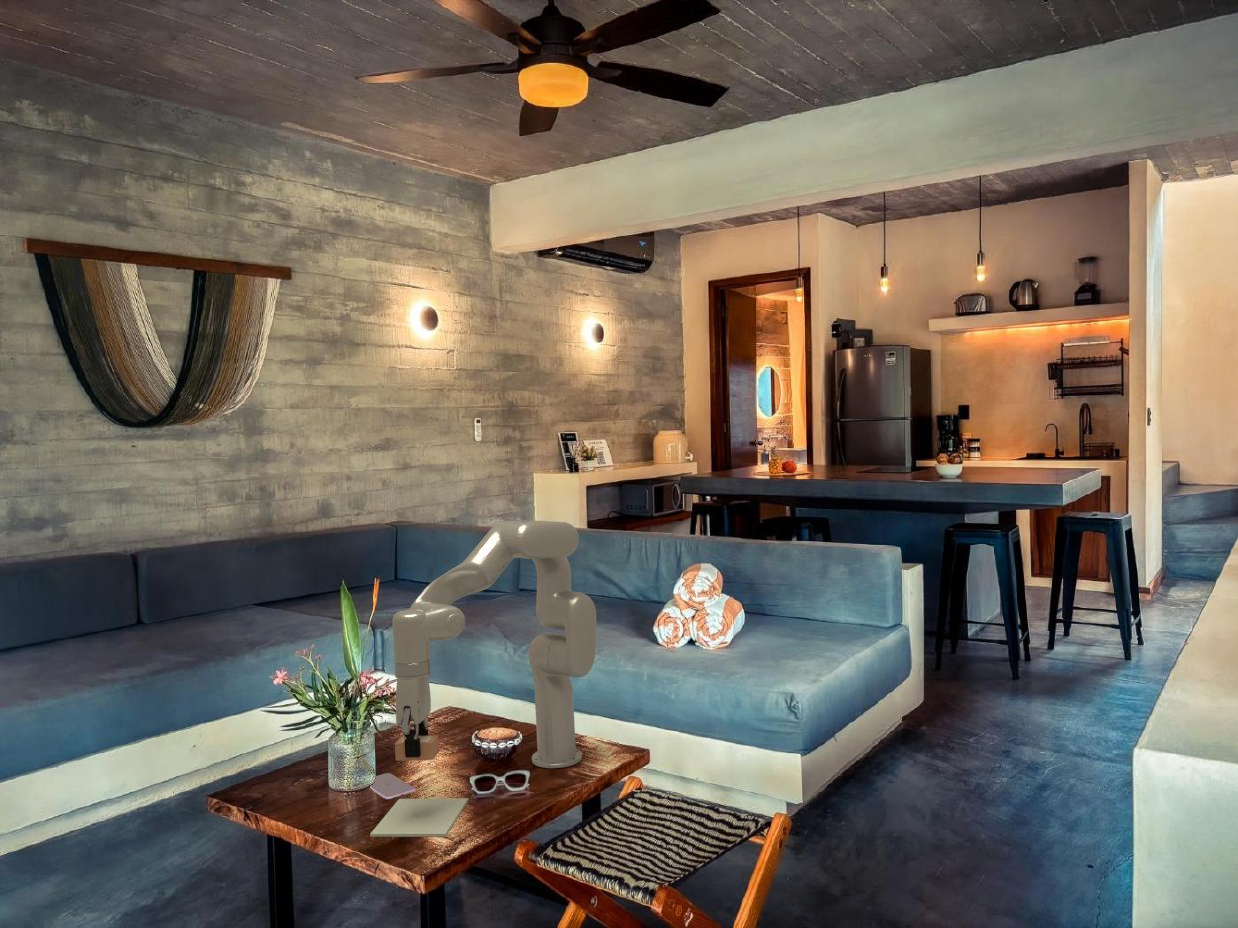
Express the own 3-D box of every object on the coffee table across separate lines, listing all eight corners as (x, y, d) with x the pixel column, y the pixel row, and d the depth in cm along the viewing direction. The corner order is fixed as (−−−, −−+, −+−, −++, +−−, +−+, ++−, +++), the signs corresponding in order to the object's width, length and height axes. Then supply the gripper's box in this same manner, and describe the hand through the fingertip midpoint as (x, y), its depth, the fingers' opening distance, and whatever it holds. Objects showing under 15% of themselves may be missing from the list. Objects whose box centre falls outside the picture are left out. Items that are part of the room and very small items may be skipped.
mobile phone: (386, 797, 210) (359, 779, 222) (386, 801, 210) (359, 783, 222) (417, 787, 215) (389, 771, 227) (417, 791, 215) (389, 774, 227)
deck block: (439, 751, 201) (438, 734, 201) (432, 759, 196) (431, 742, 196) (403, 752, 201) (402, 735, 201) (395, 760, 196) (394, 743, 196)
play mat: (399, 801, 209) (399, 798, 209) (468, 800, 207) (468, 798, 207) (370, 836, 191) (370, 833, 191) (445, 836, 189) (445, 833, 189)
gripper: (408, 658, 207) (413, 739, 207) (381, 679, 190) (386, 766, 190) (441, 658, 206) (445, 738, 207) (417, 678, 189) (422, 766, 190)
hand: (417, 751), depth 199 cm, fingers closed on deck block, 5 cm apart
